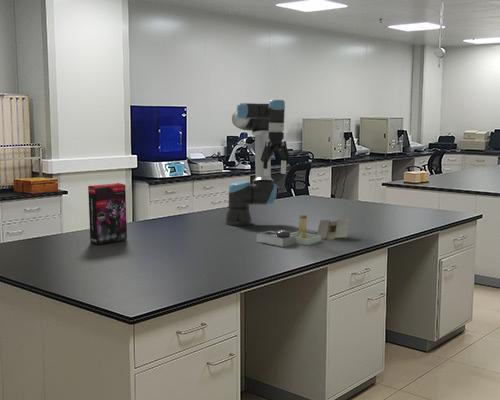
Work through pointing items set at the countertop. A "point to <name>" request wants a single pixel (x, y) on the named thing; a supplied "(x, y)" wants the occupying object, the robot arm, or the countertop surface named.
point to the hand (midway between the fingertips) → (274, 174)
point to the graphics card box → (107, 213)
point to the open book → (333, 228)
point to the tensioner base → (276, 238)
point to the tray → (307, 238)
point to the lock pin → (302, 226)
